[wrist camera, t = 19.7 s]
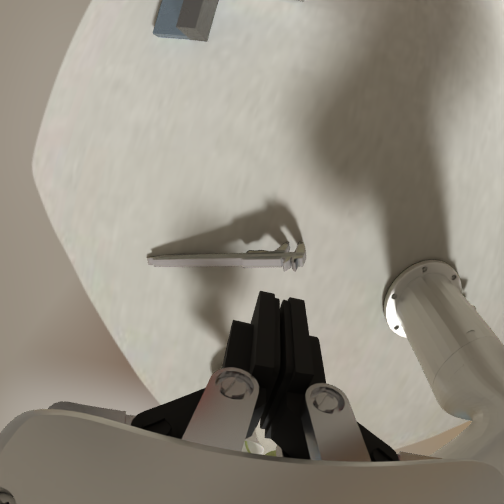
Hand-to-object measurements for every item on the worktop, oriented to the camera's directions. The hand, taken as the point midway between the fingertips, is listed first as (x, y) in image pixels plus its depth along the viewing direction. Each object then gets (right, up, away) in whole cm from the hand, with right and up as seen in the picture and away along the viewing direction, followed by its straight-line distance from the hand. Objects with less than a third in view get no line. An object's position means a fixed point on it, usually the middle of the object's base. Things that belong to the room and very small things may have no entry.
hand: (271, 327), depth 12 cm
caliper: (-4, +3, +29) cm, 30 cm away
